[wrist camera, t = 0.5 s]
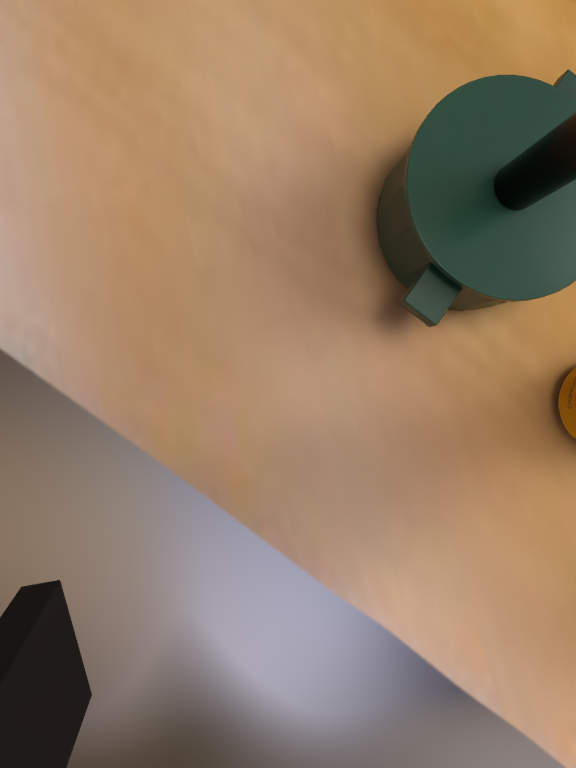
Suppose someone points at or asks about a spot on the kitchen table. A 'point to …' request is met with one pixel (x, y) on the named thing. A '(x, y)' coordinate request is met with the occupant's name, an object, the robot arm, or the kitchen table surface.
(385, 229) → the pot
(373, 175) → the kitchen table surface
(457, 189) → the pot lid
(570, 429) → the beer can
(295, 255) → the kitchen table surface
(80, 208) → the kitchen table surface
